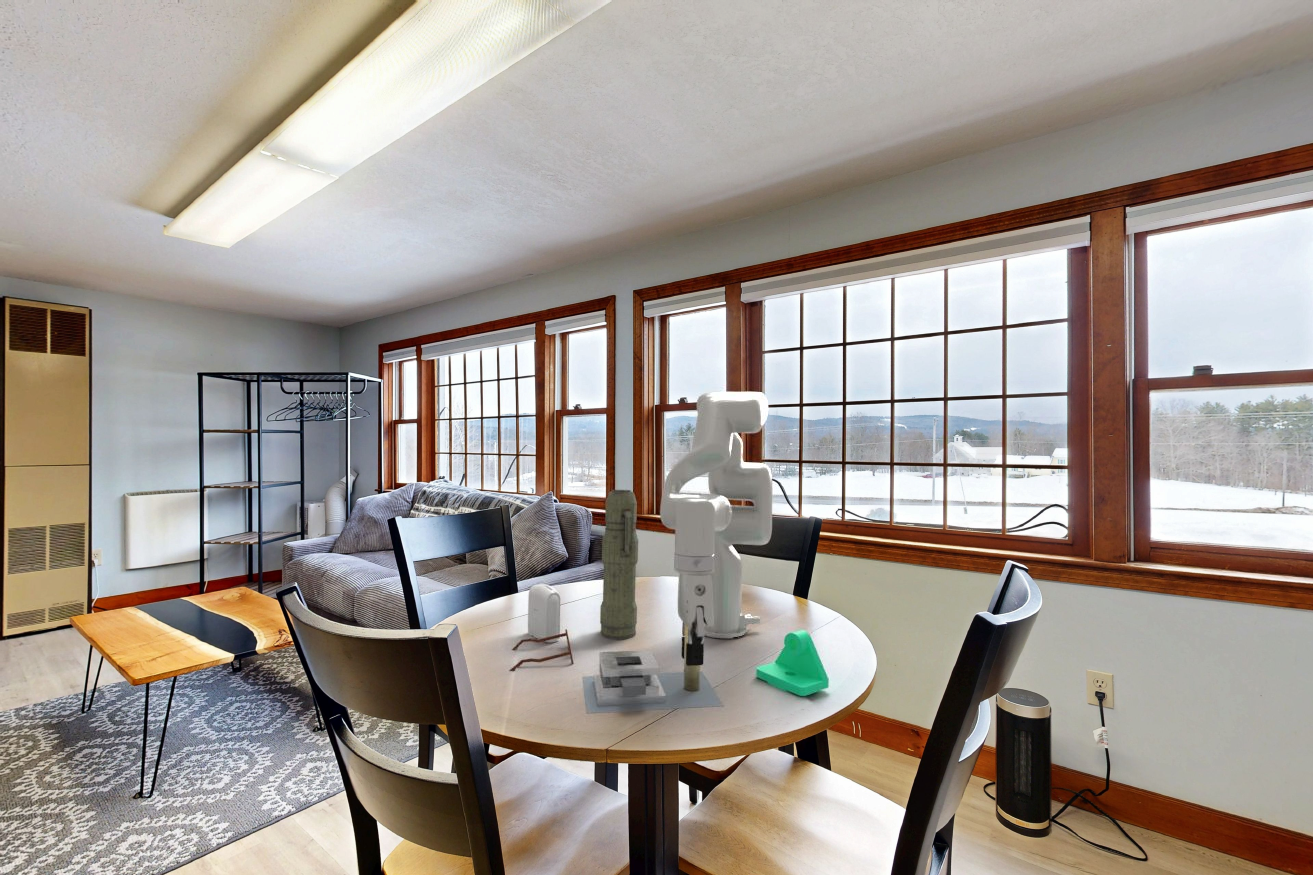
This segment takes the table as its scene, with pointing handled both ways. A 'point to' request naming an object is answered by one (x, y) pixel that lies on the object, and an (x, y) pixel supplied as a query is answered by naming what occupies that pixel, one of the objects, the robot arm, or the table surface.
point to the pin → (690, 670)
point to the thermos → (619, 566)
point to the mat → (672, 690)
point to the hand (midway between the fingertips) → (692, 660)
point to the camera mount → (796, 666)
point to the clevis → (628, 679)
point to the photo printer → (543, 612)
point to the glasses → (545, 657)
